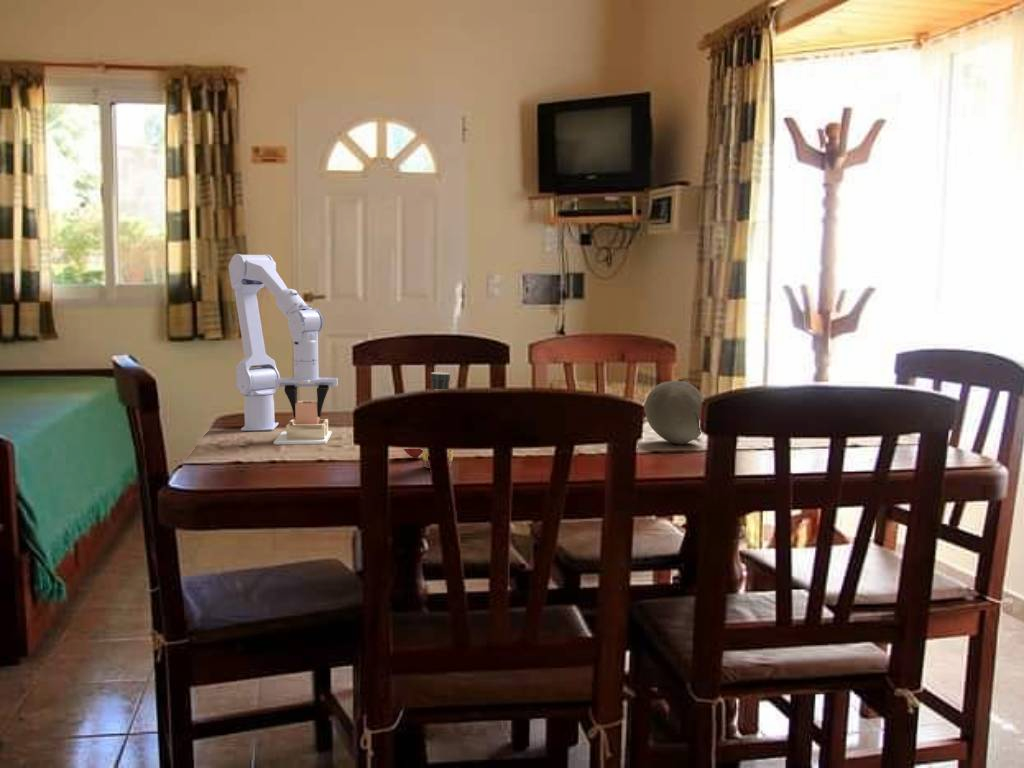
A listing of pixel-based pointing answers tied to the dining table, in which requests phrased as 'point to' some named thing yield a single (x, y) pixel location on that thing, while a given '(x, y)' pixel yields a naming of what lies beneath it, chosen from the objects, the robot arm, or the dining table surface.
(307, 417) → the terracotta block
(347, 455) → the dining table surface
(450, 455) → the sauce bottle
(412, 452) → the onion
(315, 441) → the white board
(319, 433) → the birch tray
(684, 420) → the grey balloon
